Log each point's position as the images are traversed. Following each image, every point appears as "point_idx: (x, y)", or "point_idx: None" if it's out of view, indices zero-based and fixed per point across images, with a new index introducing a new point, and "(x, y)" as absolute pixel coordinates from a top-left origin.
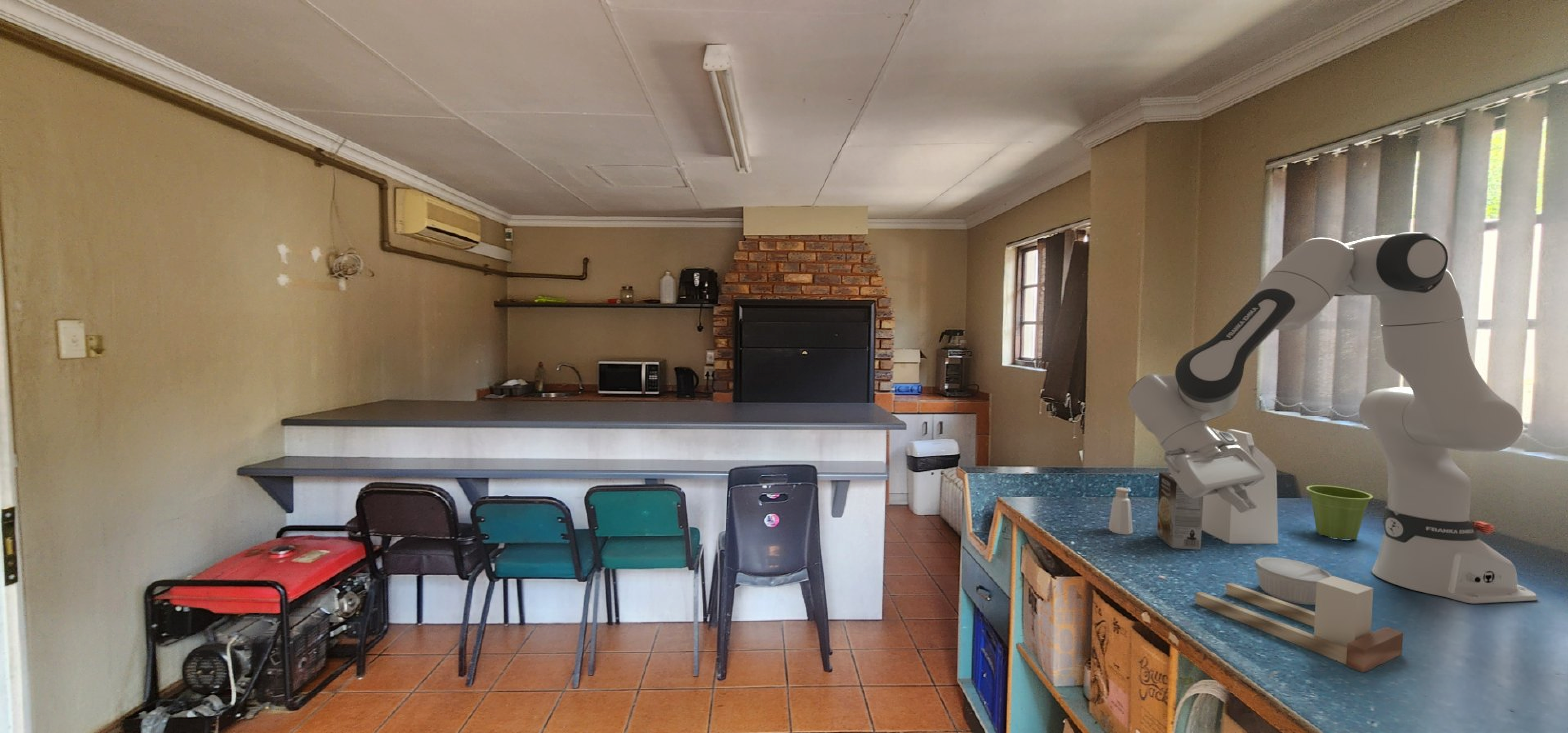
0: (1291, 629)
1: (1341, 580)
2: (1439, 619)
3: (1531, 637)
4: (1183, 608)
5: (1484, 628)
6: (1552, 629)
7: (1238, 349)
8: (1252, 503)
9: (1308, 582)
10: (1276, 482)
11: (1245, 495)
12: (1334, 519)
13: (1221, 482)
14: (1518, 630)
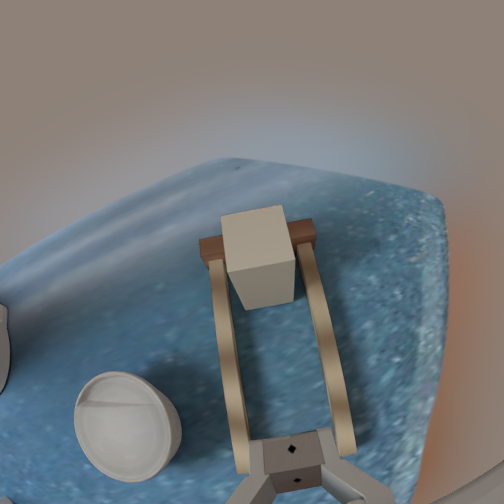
0: (324, 308)
1: (238, 251)
2: (61, 299)
3: (45, 249)
4: (388, 435)
5: (52, 272)
6: (18, 254)
7: None
8: (268, 450)
9: (150, 385)
10: None
11: (258, 497)
12: None
13: (472, 498)
14: (37, 260)
